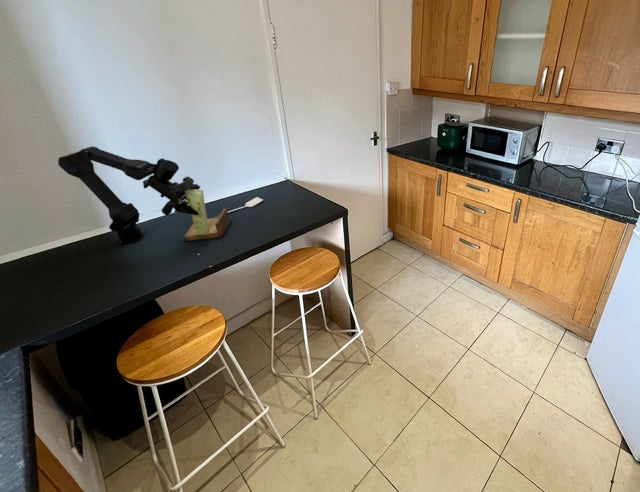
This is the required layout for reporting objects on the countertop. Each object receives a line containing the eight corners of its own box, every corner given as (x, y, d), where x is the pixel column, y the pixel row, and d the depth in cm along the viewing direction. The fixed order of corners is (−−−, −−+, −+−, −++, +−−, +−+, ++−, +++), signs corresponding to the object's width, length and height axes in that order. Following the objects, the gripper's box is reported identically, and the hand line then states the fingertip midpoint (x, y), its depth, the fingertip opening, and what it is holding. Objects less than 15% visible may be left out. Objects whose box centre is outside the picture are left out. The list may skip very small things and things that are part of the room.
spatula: (264, 202, 166) (263, 199, 165) (207, 225, 144) (206, 222, 143) (257, 199, 169) (256, 196, 168) (200, 221, 147) (199, 218, 147)
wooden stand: (186, 240, 132) (180, 226, 129) (197, 224, 145) (193, 211, 141) (222, 237, 135) (217, 223, 132) (230, 221, 147) (226, 208, 144)
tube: (195, 236, 128) (185, 192, 120) (193, 231, 131) (184, 188, 124) (211, 233, 131) (202, 189, 124) (208, 228, 135) (200, 185, 127)
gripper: (159, 183, 112) (199, 210, 117) (189, 165, 128) (223, 190, 134) (144, 202, 115) (184, 228, 120) (175, 183, 132) (209, 206, 137)
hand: (201, 212), depth 128 cm, fingers closed on tube, 4 cm apart
